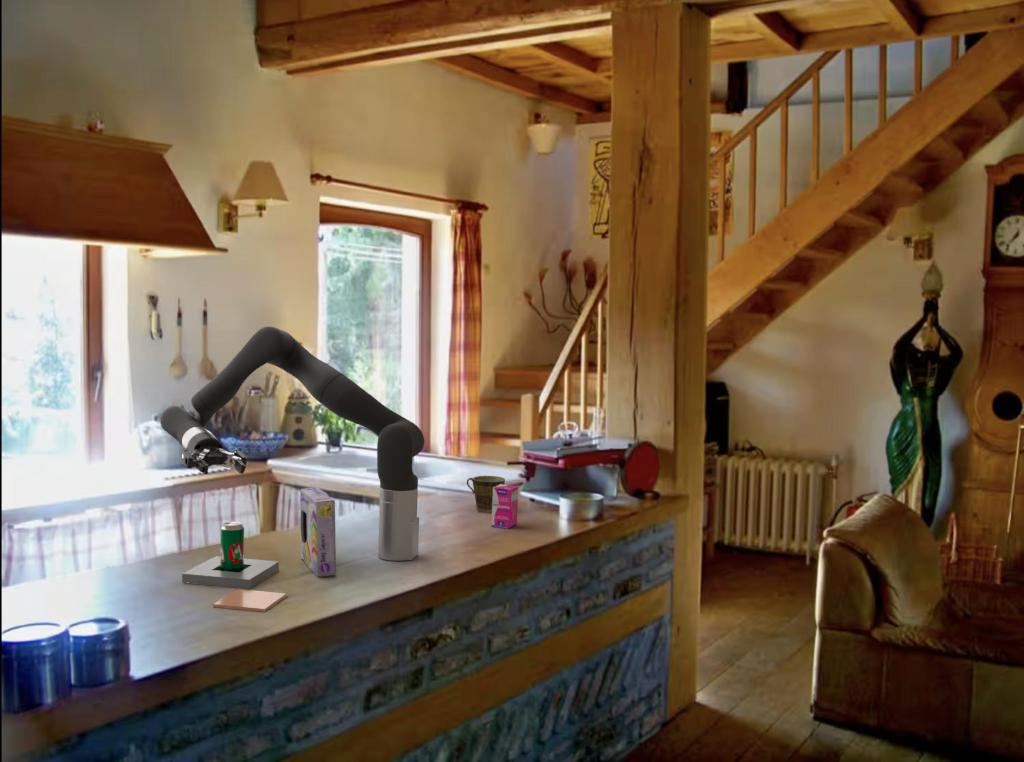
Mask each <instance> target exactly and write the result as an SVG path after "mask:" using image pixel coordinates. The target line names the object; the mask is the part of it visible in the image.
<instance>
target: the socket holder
mask: <svg viewBox="0 0 1024 762" xmlns="http://www.w3.org/2000/svg"><path fill="white" fill-rule="evenodd" d="M279 570H280V562H279V560H278V561H277V560H276V561H275V560H263V559H254V558H244V570H243V571H241V572H228V571H220V555H216V556H214V557H211V558H210V559H208V560H206V561H204V562H201V563H200V564H198V565H196V566H194V567H192V568H190V569H188V570H186V571H184V572H183V573H182V574H181V582H189V583H188V584H192V583H196V584H195V585H203V586H215V587H227V588H237V589H245V590H251V589H252V588H253V587H255V586H256V585H257V584H259V583H260V582H263V581H264V580H266V579H267V578H268V576H269V577H270V576H272V575H273V574H275V573H277V572H278V571H279ZM276 571H277V572H276ZM274 572H275V573H274ZM252 586H253V587H252Z"/></svg>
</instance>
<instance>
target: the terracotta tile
mask: <svg viewBox="0 0 1024 762" xmlns="http://www.w3.org/2000/svg"><path fill="white" fill-rule="evenodd" d="M287 596H288V595H287V593H284V592H275V591H273V592H272V591H265V590H264V591H262V590H253V589H244V588H237V589H236V590H234V591H232V592H230V593H229V594H228V595H226V596H224V597H223V598H221V599H219V600H218V601H216V602H214V603H213V606H212V607H213V608H220V609H222V608H223V609H229V610H230V609H231V610H241V611H250V612H251V611H252V612H260V613H265V612H267V611H268V610H269V609H270V608H273V607H274V606H276V605H277V604H278V603H280V602H281V601H282V600H284V599H285V598H286V597H287ZM283 598H284V599H283ZM280 600H281V601H280ZM277 602H278V603H277Z"/></svg>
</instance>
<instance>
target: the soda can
mask: <svg viewBox="0 0 1024 762" xmlns="http://www.w3.org/2000/svg"><path fill="white" fill-rule="evenodd" d="M243 524H244V523H243V522H240V521H226V522H223V523H222V526H221V527H220V546H219V547H220V550H219V551H220V553H219V554H220V555H219V556H220V571H228V572H241V571H243V570H244V559H245V557H244V556H245V527H244V525H243Z"/></svg>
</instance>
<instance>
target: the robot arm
mask: <svg viewBox="0 0 1024 762" xmlns="http://www.w3.org/2000/svg"><path fill="white" fill-rule="evenodd" d="M265 364H269V365H271V366H274V367H276V368H279V369H281V370H283V371H284V372H286V373H287V374H289V375H290V376H292V377H294V378H295V379H297V381H299V383H300V384H302V386H304V388H305V389H306V390H307V392H308V393H309V394H310V395H311V396H312V397H313V398H314V399H315V400H316V401H317V402H319V403H320V404H321V405H322V406H323V407H325V408H326V409H327V410H329V411H330V412H331V413H333V414H335V415H337V416H338V417H340V418H341V419H344V420H347V421H349V422H351V423H354V424H355V425H359V426H361V427H364V428H365V429H367V430H369V431H371V432H372V433H373V434H375V435H376V436H377V437H378V438H377V444H376V445H377V446H376V460H377V462H376V465H377V467H376V468H377V469H376V470H377V476H378V479H379V510H378V512H379V515H378V544H377V545H378V547H377V550H378V551H377V554H378V555H377V556H378V558H380V559H381V560H386V561H395V562H396V561H398V562H399V561H400V562H401V561H413V560H414V559H415V558H416V557H418V555H419V535H420V517H418V490H419V489H418V488H419V479H418V476H417V475H416V474H414V470H413V458H414V457H416V456H417V455H419V454H420V453H421V452H422V450H423V449H424V447H425V437H424V434H423V431H422V430H421V428H420V427H419V426H418V425H416V423H414V422H413V421H411V420H409V419H407V418H405V417H404V416H402V415H400V414H399V413H397V412H395V411H393V410H391V409H390V408H389V407H387V406H386V405H384V404H383V403H382V402H381V401H379V400H378V399H376V398H375V397H374V396H372V395H371V393H369V392H368V391H366V390H365V389H363V388H362V387H361V386H360V385H359V384H357V383H356V382H355V381H353V380H352V379H350V378H349V377H348V376H346V375H345V374H344V373H342V372H340V371H339V370H338V369H336V368H334V367H333V366H332V365H330V364H328V363H327V362H325V361H323V360H321V359H319V358H318V357H316V356H315V355H314V354H312V353H311V352H310V351H309V350H308V349H306V348H305V347H304V345H302V344H301V343H300V342H299V341H298V340H297V339H295V337H293V335H292V334H290V333H289V332H287V331H285V330H283V329H280V328H278V327H274V326H264V327H261V328H260V329H258V330H256V332H255V333H253V334H252V336H251V337H250V338H249V340H248V341H247V342H246V344H245V345H244V346H243V347H242V348H241V349H240V351H239V352H238V353H237V354H236V355H235V356H234V357H233V359H232V360H231V361H230V362H229V363H228V364H227V365H226V366H225V367H224V368H223V369H222V370H221V371H220V372H219V373H218V374H216V376H214V377H213V378H212V379H211V380H210V381H209V382H207V383H206V384H205V385H204V386H203V387H202V388H200V389H199V391H197V392H196V393H195V394H193V396H191V398H190V399H191V400H190V402H191V406H192V407H193V408H194V410H195V411H196V412H197V414H196V415H195V416H194V415H193V414H192V413H190V412H189V411H187V410H186V409H184V408H183V407H182V406H180V405H179V406H178V405H172V406H170V407H167V408H166V409H164V411H163V412H162V413H161V415H160V421H159V422H160V426H161V428H162V429H163V430H164V431H165V432H166V433H167V434H168V435H170V436H171V437H172V438H174V439H175V441H177V442H178V444H179V445H180V446H181V448H183V449H182V454H181V459H180V461H181V462H182V463H183V465H184V466H185V467H186V469H192V468H193V467H194V469H195V470H198V471H199V472H200V473H202V474H203V475H208V474H209V473H208V472H209V468H210V467H212V466H217V467H218V466H219V467H220V466H221V467H223V468H227V469H228V468H233V469H234V470H235V471H237V473H238V474H241V475H242V474H244V472H245V471H246V468H247V464H248V463H247V461H248V456H246V455H245V454H244V453H243V452H241V451H240V449H234V450H233V452H230V451H228V450H225V449H224V446H223V444H222V442H221V441H220V440H219V439H218V438H217V437H216V436H215V435H214V434H213V433H212V432H211V431H209V430H208V429H206V426H207V425H208V424H209V422H210V420H211V419H212V418H213V417H214V415H215V414H217V412H219V411H220V410H222V408H224V407H225V406H226V405H227V404H228V403H229V402H231V400H232V399H233V398H234V397H235V396H236V395H237V394H238V392H239V390H240V388H241V387H242V386H243V384H244V382H245V381H246V380H247V379H248V378H249V376H250V375H252V374H253V373H254V372H255V371H256V370H258V369H260V368H261V367H263V366H264V365H265ZM233 462H234V463H233Z"/></svg>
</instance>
